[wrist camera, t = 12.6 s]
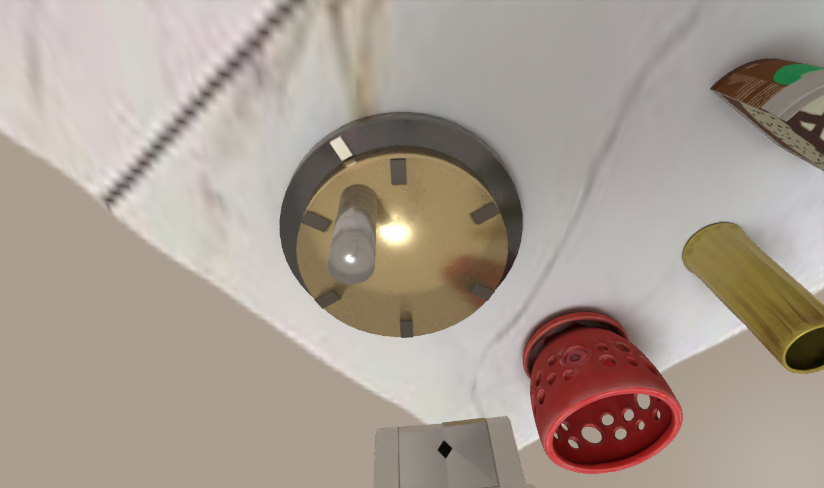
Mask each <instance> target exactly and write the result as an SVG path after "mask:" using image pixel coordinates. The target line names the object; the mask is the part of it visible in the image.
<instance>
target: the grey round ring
mask: <svg viewBox="0 0 824 488" xmlns="http://www.w3.org/2000/svg"><path fill="white" fill-rule="evenodd" d="M396 145H407V146H418V147H425V148H429V149H433V150H437V151H440V152H442V153H445V154H447V155H450V156H452V157H454V158H456V159H457V160H459V161H461V162H462V163H464V164H465V165H467V166H468V167H469V168H470V169H472V170H473V171H474V172H475V173H476V174H477V175H478V176H479V177H480V178H481V179H482V180H483V181H484V183H485V184H486V185H487V187H488V188H489V190H490V191H491V193H492V195H493V197H494V199H495V201H496V204H497V206H498V209H499V211H500V214H501V216H502V219H503V222H504V225H505V228H506V233H507V239H508V255H507V261H506V266H505V269H504V272H503V275H502V277H501V280H500V282H499V284H498V286H499V285H500V284H501V282H502V281H503V280H504V279H505V277H506V276H507V274H508V272H509V271H510V269H511V267H512V265H513V263H514V261H515V259H516V256H517V254H518V250H519V247H520V243H521V237H522V229H523V225H522V210H521V205H520V200H519V197H518V194H517V191H516V188H515V186H514V184H513V182H512V180H511V178H510V176H509V174H508V172H507V170H506V168H505V166H504V165H503V163H502V162H501V161H500V159H499V158H498V156H497V155H496V154H495V153H494V151H493V150H492V149H491V148H490V147H489V146H488V145H487V144H486V143H485V142H483V141H482V140H481V139H480V138H478V137H477V136H476V135H474V134H473V133H472V132H470V131H468V130H466V129H465V128H463V127H461V126H459V125H457V124H455V123H452V122H450V121H447V120H445V119H442V118H438V117H434V116H430V115H426V114H418V113H410V112H399V113H385V114H378V115H373V116H369V117H366V118H362V119H359V120H356V121H353V122H351V123H349V124H347V125H344V126H342V127H340V128H339V129H337V130H335V131H334V132H332V133H330V134H329V135H327V136H326V137H325V138H324V139H322V140H321V141H320V142H319V143H317V144H316V145H315V146H314V147H313V148H312V149H311V150H310V152H309V153H308V154H307V155H306V156H305V157H304V159H303V160H302V161H301V163H300V164H299V166H298V167H297V169H296V171H295V173H294V175H293V177H292V179H291V181H290V183H289V186H288V188H287V191H286V193H285V197H284V200H283V203H282V207H281V214H280V238H281V243H282V249H283V252H284V255H285V258H286V261H287V263H288V265H289V267H290V269H291V271H292V273H293V274H294V276H295V277H296V279H297V280H298V281H299V283H300V284H301V285H302V287H303V288H304V289H305V290H306V291H307V292H308V293H309V294H310V292H309V290H308V289H307V287H306V285H305V283H304V281H303V279H302V277H301V274H300V270H299V267H298V262H297V253H296V248H297V237H298V232H299V228H300V225H301V221H302V218H303V215H304V212H305V209H306V206H307V204H308V201H309V199H310V197H311V195H312V194H313V192H314V190H315V188H316V187H317V186H318V185H319V183H320V182H321V181H322V179H323V178H324V177H325V176H326V175H327V174H329V173H330V172H331V171H332V170H333V169H334V168H336V167H337V166H338V165H340V164H341V163H342V162H344V161H346V160H348V159H350V158H351V157H353V156H355V155H358V154H360V153H363V152H366V151H368V150H372V149H376V148H380V147H387V146H396ZM498 286H497V287H498ZM497 287H496V289H497ZM496 289H495V290H496ZM310 295H311V294H310ZM311 296H312V295H311ZM312 297H313V296H312ZM313 298H314V297H313Z"/></svg>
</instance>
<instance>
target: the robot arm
mask: <svg viewBox="0 0 824 488" xmlns="http://www.w3.org/2000/svg"><path fill="white" fill-rule="evenodd" d="M374 464H375V465H374V488H536V487H535V486H534V485H533V484H526V482H525V478H524V474H523V470H522V466H521V462H520V458H519V454H518V450H517V446H516V442H515V438H514V434H513V430H512V426H511V422H510V420H509V418H508V417H507V416H502V417H494V418H486V419H485V418H478V419H470V420H461V421H453V422H444V423H442V424H430V425H418V426H404V427H392V428H381V429H377V431H376V436H375V462H374Z"/></svg>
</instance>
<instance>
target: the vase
mask: <svg viewBox="0 0 824 488" xmlns="http://www.w3.org/2000/svg"><path fill="white" fill-rule="evenodd" d="M683 262H684V264H685V267H686V268H687V269H688V270H689V271H691V272H692V273H694V274H695V275H696V276H697V277H698V278H699V279H700V280H701V281H702V282H703V283H704V284H705V285H706V286H707V287H708V288H709V289H710V290H711V291H712V292H713V293H714V294H715V295H716V296H717V297H718V298H719V299H720V300H721V301H722V302H723V303H724V304H725V305H726V307H727V308H728V309H729V310H730V311H731V312H732V313H733V314H734V315H735V316H736V317H737V318H738V319H739V320H740V321H741V322H743V323H744V324H745V325H746V326H747V328H748V329H749V330H750V331H751V332H752V333H753V334H754V336H755V337H756V338H757V339H758V340H759V341H760V342H761V343H762V344H763V345H764V346H765V347H766V348H767V349H768V350H769V351H770V352H771V353H772V355H773V356H774V357H775V358H776V359H777V360H778V361H779V362H780V363H781V364H782V365H783V366H784V367H785V368H786V369H787V370H788V371H790V372H793V373H799V374H807V373H813V372H817V371H820V370H823V369H824V305H823V304H822V303H821V302H820V301H818V300H817V299H816V298H815V297H814V296H813V295H812V294H811V293H810V292H809V291H808V290H807V289H805V288H804V287H803V286H802V285H801V284H800V283H798V282H797V281H796V280H795V279H794V278H793V277H792V276H791V275H789V274H788V273H787V272H786V271H785V270H784V269H782V268H781V267H780V266H779V265H778V264H777V263H776V262H774V261H773V260H772V259H771V258H770V257H769V256H767V255H766V254H765V253H764V252H763V251H762V250H761V249H760V248H759V247H758V246H757V245H756V244H755V243H754V242H752V241H751V240H750V239H749V238H748V237H747V236H746V235H745V233H744V231H743V230H742V229H741V228H740V227H739V226H737V225H735V224H731V223H718V224H714V225H710V226H708V227H706V228H704V229H702V230H700V231H699V232H697V233H696V234H695V235H694V236H693V237H692V238H691V239H690V240H689V241H688V243H687V244H686V247H685V249H684V252H683Z"/></svg>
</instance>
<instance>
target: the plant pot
mask: <svg viewBox="0 0 824 488" xmlns="http://www.w3.org/2000/svg"><path fill="white" fill-rule="evenodd" d="M523 365H524V369H525V372H526V374H527V376H528V377H529V378H530V379H531V383H530V396H531V404H532V410H533V415H534V419H535V423H536V427H537V430H538V434H539V437H540V440H541V442H542V445H543V448H544V450H545V452H546V454H547V456H548V457H549V458H550V459H551V460H552V461H553V462H554V463H555V464H557V465H558V466H560V467H562V468H564V469H567V470H570V471H574V472H578V473H586V474H599V473H608V472H614V471H619V470H622V469H626V468H629V467H632V466H635V465H637V464H639V463H642V462H644V461H645V460H647V459H649V458H651V457H652V456H654V455H656V454H657V453H659V452H660V451H662V450H663V449H664V448H665V447H666V446H667V445H668V444H669V443H670V442H671V441H672V440H673V439H674V438H675V436H676V435H677V433H678V431H679V430H680V428H681V424H682V420H683V414H682V409H681V406H680V404H679V402H678V400H677V399H676V397H675V395H674V394H673V392H672V390H671V389H670V387H669V386H668V384H667V383H666V381H665V380H664V378H663V377H662V375H661V374H660V372H659V371H658V370H657V369H656V367H655V366H654V365H653V364H652V363H651V362H650V361H649V359H648V358H647V357H646V356H645V355H644V354H643V353H642V352H641V351H640V350H639V349H638V348H637V347H636V346H634V345H633V344H632V343H630V342H629V339H628V336H627V334H626V332H625V330H624V329H623V327H622V326H621V325H620V324H619V323H618V322H617V321H615V320H614V319H612V318H610V317H608V316H605V315H602V314H598V313H592V312H578V313H571V314H566V315H563V316H560V317H557V318H555V319H553V320H551V321H549V322H548V323H546V324H545V325H543V326H542V327H541V328H540V329H539V330H537V331H536V332H535V334H534V335H533V336H532V337H531V339H530V340H529V342H528V343H527V345H526V348H525V350H524V354H523ZM637 394H646V395H649V397H650V406H649V407H648V408H647V409H645V410H644V409H642V408H641V407H640V406H639V404H638V402H637ZM628 409H631V410H632V411H633V412H634V418H633V419H632V420H630V421H626V420H625V418H624V413H625V412H626V410H628ZM658 410H659V411H660V419H659V418H658V416H657V411H658ZM606 414H609V415H611V416H613V418H614V422H613V423H612V424H611V425H608V426H607V425H604V424H603V423H602V417H603V416H604V415H606ZM641 421H643V422H644V424H645V426H644V428H643V429H642V430H639V427H638V426H639V423H640V422H641ZM562 423H563V424H565V425H566V426H567V428H568V431H567V430H565V429H563V427H562V425H561V424H562ZM587 426H588V427H594V428H596V429H597V430H599V432H600V433H601V435H602V440H601V441H600V442H599V443H591V442H589V441H587V440H586V439H584V438H583V436H582V432H581V431H582V429H583V428H584V427H587ZM620 428H622V429H625V430H626V431H627V435H626V437H625V438H624V439H622V440H618V439H617V438H616V437H615V432H616V430H617V429H620ZM555 432H556V434H557V436H558V439H557V438H555V437H554V433H555ZM568 439H571V440H573V441H575V442H576V443H577V444H578V447H579V448H573V447H571V446H570V444H569V443H568Z"/></svg>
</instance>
